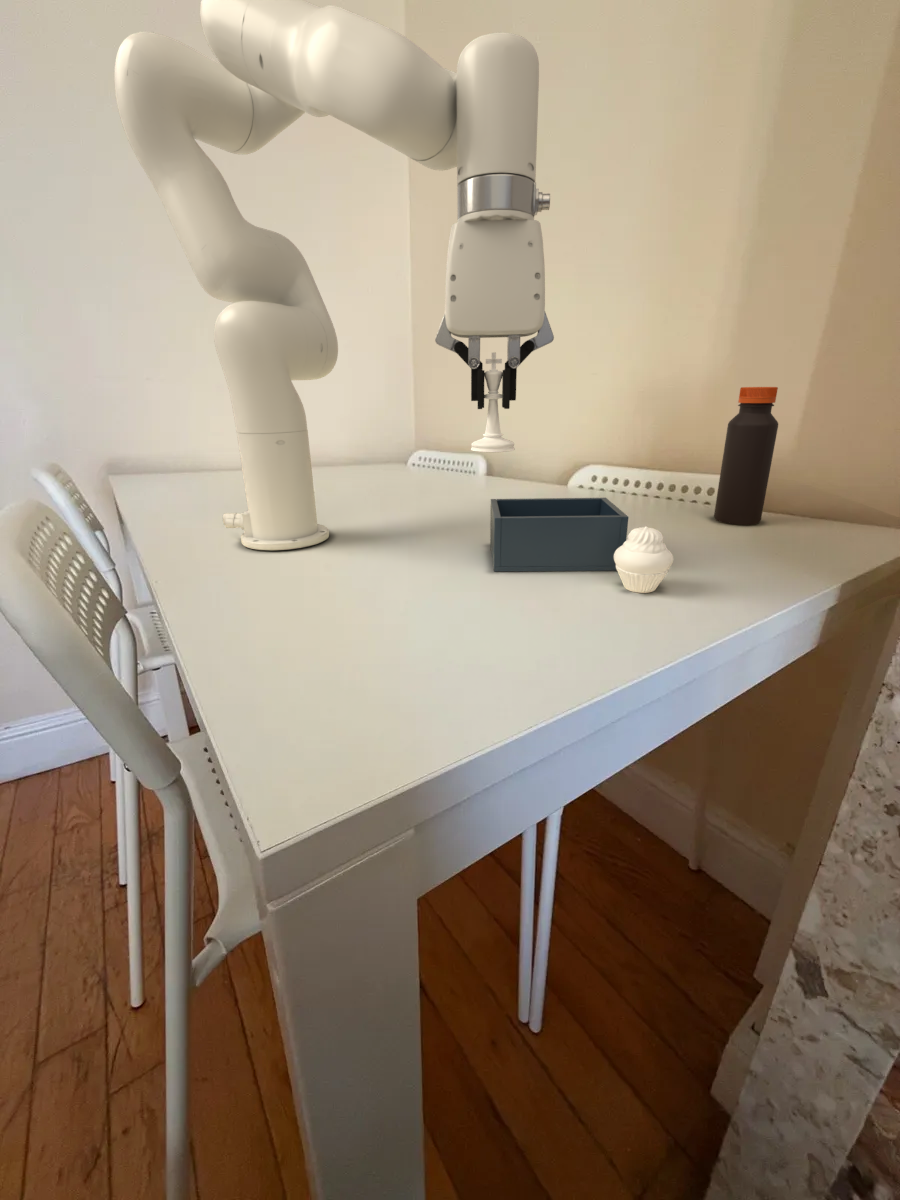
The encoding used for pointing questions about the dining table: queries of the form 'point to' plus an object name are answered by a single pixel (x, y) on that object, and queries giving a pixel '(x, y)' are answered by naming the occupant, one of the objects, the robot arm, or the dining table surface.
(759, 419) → the bottle
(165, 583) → the dining table surface
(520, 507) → the bin
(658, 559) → the muffin
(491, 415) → the chess piece
